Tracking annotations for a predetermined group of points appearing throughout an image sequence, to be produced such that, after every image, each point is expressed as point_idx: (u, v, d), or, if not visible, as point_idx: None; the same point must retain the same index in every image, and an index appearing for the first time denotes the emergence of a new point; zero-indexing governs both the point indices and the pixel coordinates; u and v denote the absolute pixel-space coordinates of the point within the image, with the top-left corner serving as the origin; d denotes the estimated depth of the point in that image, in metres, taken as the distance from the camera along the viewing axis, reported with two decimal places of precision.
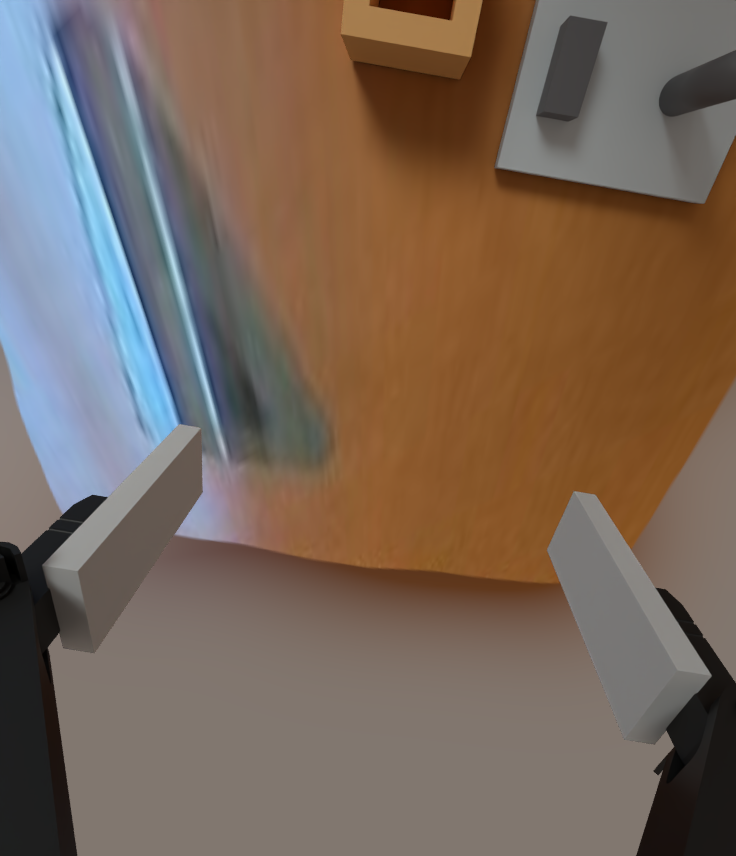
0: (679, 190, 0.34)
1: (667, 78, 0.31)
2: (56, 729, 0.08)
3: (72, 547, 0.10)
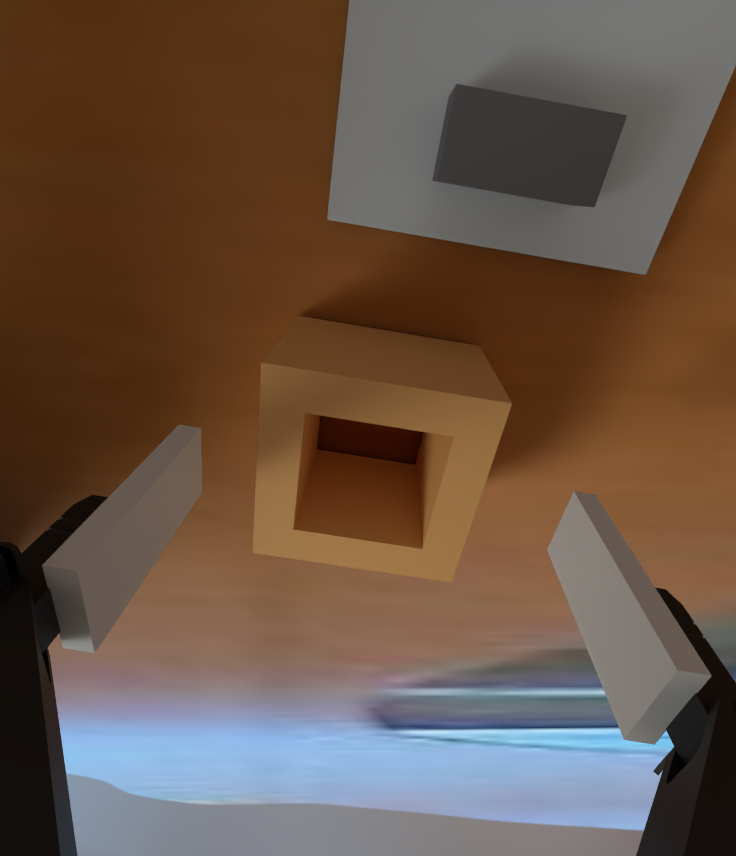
0: None
1: None
2: (56, 729, 0.08)
3: (72, 547, 0.10)
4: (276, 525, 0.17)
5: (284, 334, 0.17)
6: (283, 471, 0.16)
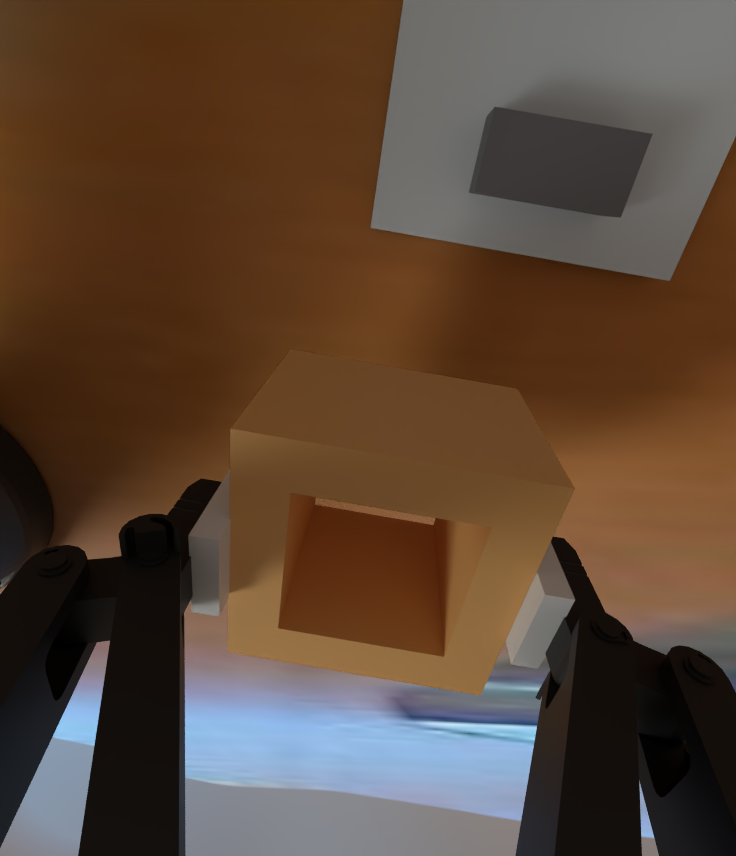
0: None
1: None
2: (183, 692, 0.09)
3: (208, 521, 0.11)
4: (257, 622, 0.13)
5: (270, 379, 0.13)
6: (263, 561, 0.12)
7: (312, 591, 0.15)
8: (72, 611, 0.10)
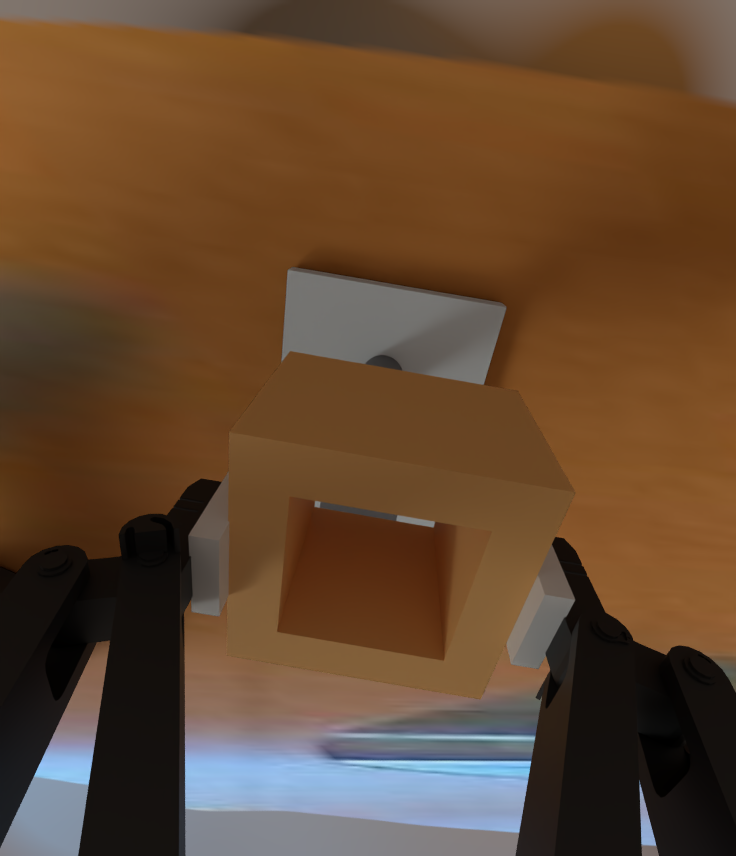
0: (485, 344, 0.25)
1: None
2: (183, 692, 0.09)
3: (208, 521, 0.11)
4: (256, 625, 0.13)
5: (269, 381, 0.13)
6: (262, 564, 0.12)
7: (311, 594, 0.15)
8: (72, 611, 0.10)
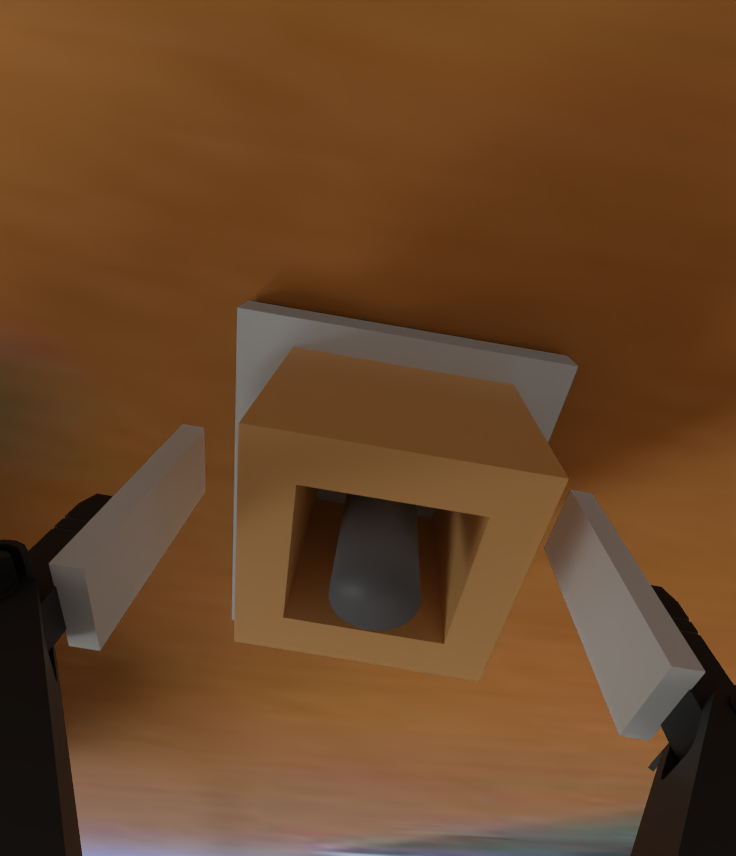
0: (541, 419, 0.17)
1: None
2: (62, 727, 0.08)
3: (78, 545, 0.10)
4: (263, 611, 0.14)
5: (274, 376, 0.13)
6: (270, 551, 0.12)
7: (315, 582, 0.15)
8: None
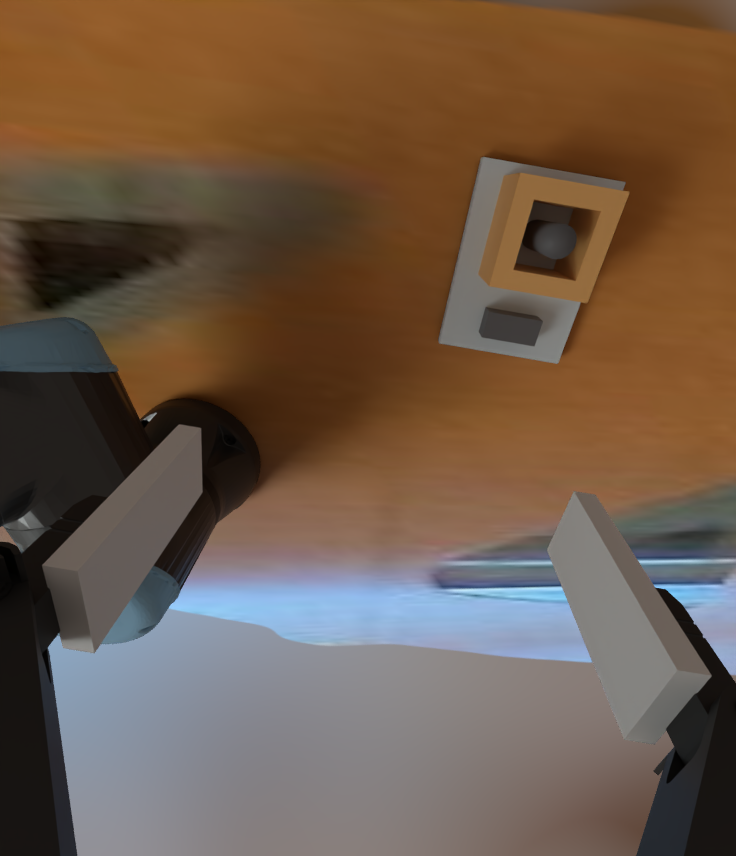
0: None
1: (521, 246, 0.40)
2: (56, 729, 0.08)
3: (72, 547, 0.10)
4: (505, 268, 0.35)
5: (511, 174, 0.35)
6: (516, 233, 0.34)
7: (518, 268, 0.36)
8: None
